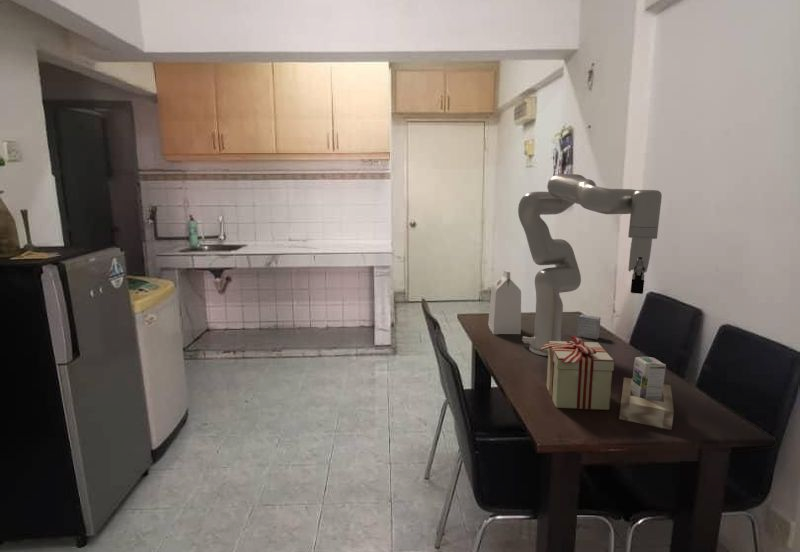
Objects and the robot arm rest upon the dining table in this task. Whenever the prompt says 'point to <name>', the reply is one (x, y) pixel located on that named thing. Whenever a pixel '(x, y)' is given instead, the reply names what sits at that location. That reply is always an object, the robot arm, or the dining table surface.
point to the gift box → (579, 374)
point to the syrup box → (648, 378)
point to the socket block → (647, 407)
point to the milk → (505, 306)
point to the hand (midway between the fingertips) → (636, 290)
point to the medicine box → (588, 326)
